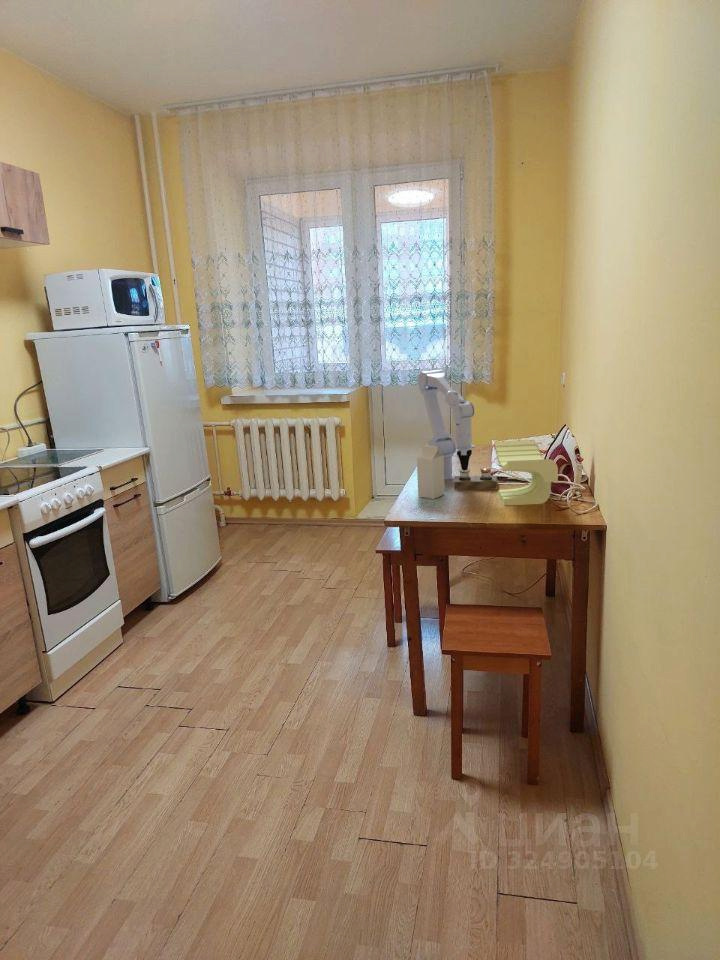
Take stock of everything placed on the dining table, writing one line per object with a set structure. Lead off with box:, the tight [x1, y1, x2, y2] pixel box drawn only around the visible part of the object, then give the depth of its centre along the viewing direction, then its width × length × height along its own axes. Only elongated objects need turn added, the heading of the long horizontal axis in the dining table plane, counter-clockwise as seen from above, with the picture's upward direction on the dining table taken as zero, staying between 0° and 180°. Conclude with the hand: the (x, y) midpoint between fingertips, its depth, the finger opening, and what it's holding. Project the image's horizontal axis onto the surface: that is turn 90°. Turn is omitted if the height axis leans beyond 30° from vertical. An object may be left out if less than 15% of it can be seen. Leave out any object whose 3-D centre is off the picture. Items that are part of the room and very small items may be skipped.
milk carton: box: [416, 444, 446, 500], centre depth 217 cm, size 7×7×19 cm
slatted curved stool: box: [494, 439, 559, 506], centre depth 207 cm, size 30×16×18 cm, turn 175°
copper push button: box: [479, 467, 492, 480], centre depth 226 cm, size 4×4×4 cm
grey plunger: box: [458, 467, 471, 480], centre depth 228 cm, size 4×4×4 cm
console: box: [453, 475, 498, 490], centre depth 228 cm, size 16×8×3 cm, turn 79°
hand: (464, 469), depth 227 cm, fingers closed
